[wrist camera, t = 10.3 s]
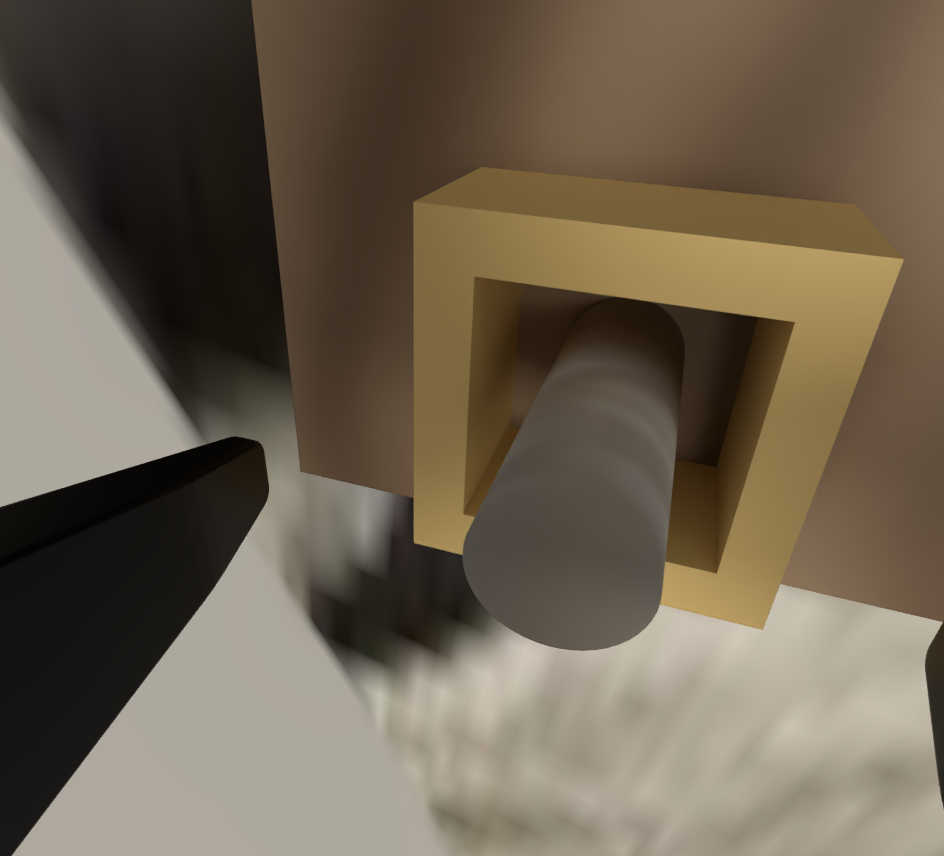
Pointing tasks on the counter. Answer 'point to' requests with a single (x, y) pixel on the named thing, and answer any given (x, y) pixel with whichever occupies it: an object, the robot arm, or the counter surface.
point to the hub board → (601, 316)
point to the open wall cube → (663, 281)
